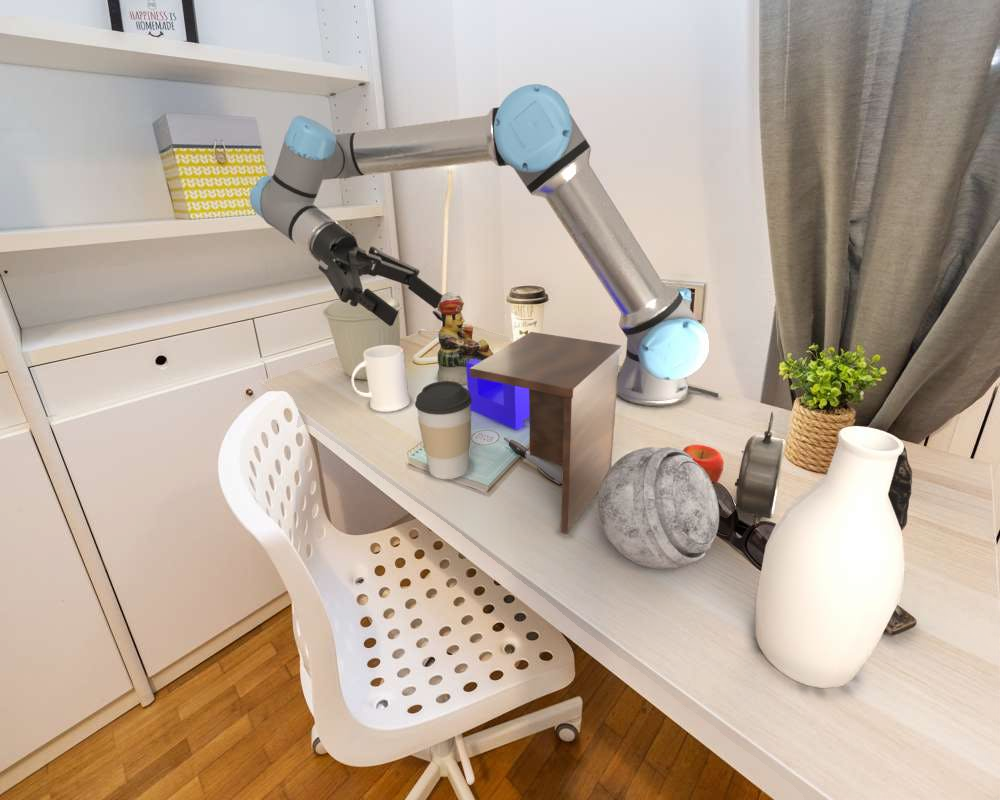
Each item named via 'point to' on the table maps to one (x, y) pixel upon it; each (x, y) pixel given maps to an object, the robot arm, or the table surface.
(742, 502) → the alarm clock
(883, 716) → the table surface
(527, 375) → the cubby
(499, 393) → the blue hollow box
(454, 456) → the coffee cup
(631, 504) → the decorative orb
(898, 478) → the statue
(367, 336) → the canister
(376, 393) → the mug
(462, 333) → the figurine
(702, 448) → the apple
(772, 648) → the bottle
